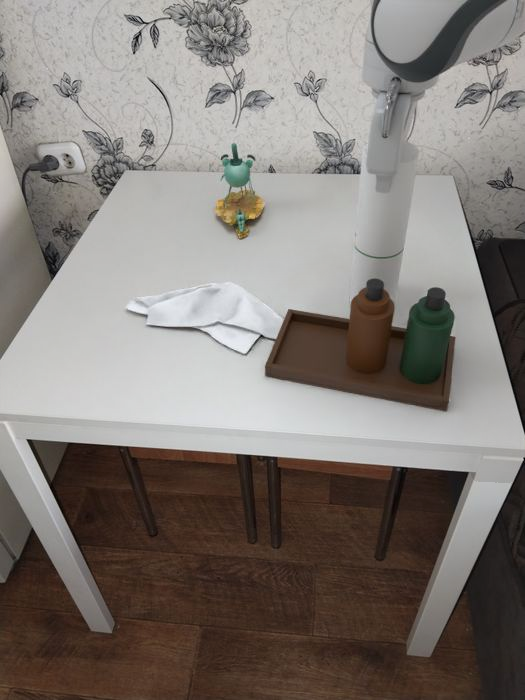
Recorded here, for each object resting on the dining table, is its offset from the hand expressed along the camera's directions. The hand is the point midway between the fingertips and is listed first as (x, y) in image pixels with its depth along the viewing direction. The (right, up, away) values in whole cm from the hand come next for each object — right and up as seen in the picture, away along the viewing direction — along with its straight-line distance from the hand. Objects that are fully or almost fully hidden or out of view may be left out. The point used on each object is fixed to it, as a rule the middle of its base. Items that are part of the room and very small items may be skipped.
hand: (387, 174), depth 78 cm
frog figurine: (-21, +3, +35) cm, 41 cm away
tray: (-3, -25, +6) cm, 26 cm away
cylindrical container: (+1, -16, +15) cm, 22 cm away
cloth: (-24, -17, +14) cm, 33 cm away
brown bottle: (-2, -25, +5) cm, 25 cm away
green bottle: (+5, -26, +3) cm, 27 cm away
